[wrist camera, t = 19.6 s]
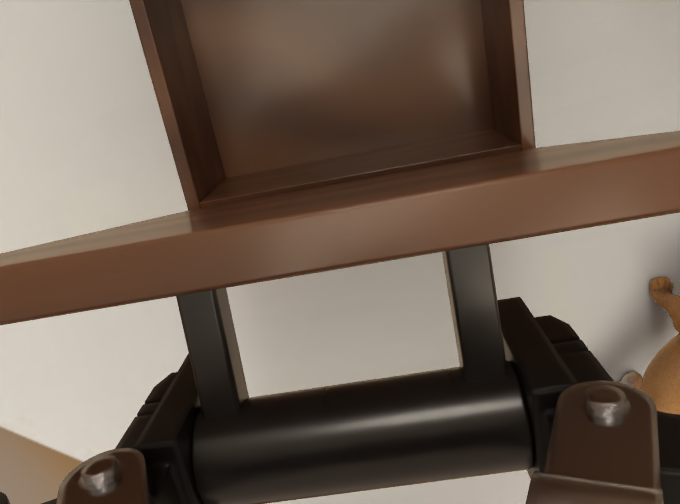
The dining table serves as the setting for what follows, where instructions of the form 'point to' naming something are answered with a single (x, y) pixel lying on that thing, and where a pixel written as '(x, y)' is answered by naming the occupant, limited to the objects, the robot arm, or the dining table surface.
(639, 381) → the lion figurine
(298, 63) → the chest
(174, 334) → the dining table surface
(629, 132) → the dining table surface
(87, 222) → the dining table surface
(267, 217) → the lid
